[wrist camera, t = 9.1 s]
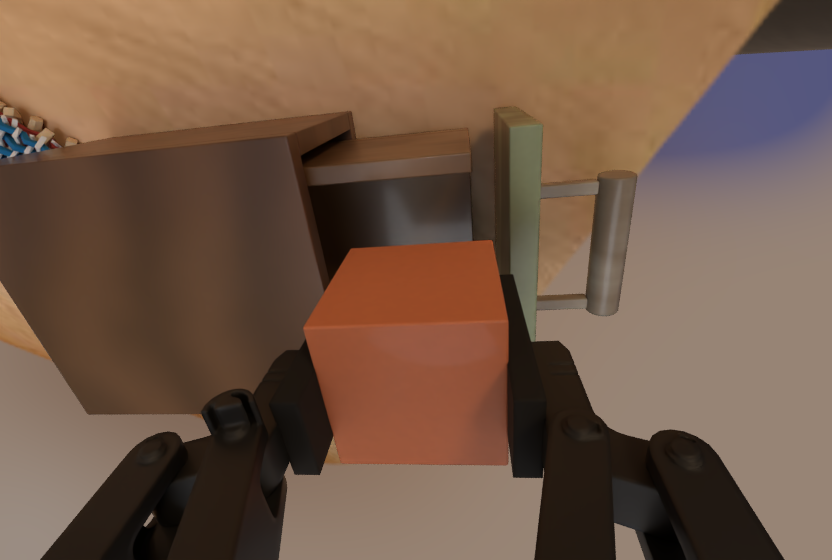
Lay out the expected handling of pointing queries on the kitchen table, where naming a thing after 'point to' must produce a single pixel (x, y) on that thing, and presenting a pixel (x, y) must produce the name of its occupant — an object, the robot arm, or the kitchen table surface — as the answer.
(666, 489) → the robot arm
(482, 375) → the block
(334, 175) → the drawer
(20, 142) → the woven mat
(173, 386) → the cabinet
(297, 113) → the kitchen table surface
